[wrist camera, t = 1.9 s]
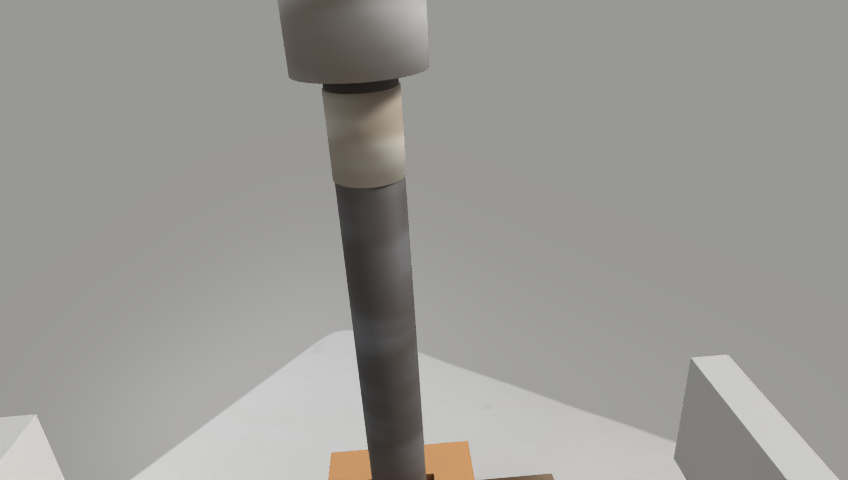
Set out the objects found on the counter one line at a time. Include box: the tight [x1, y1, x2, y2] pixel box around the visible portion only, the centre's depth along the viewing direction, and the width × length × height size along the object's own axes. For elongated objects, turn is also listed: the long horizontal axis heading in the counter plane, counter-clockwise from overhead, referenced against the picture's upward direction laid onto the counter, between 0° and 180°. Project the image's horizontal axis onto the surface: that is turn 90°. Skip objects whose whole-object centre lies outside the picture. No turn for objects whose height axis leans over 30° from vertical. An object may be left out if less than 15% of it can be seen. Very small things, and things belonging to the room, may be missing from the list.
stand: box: [278, 0, 554, 480], centre depth 24 cm, size 20×20×35 cm
